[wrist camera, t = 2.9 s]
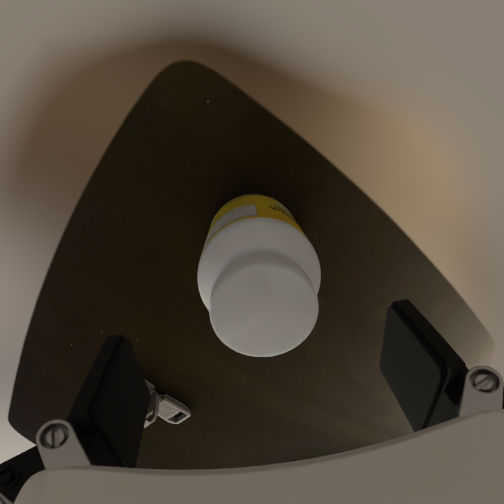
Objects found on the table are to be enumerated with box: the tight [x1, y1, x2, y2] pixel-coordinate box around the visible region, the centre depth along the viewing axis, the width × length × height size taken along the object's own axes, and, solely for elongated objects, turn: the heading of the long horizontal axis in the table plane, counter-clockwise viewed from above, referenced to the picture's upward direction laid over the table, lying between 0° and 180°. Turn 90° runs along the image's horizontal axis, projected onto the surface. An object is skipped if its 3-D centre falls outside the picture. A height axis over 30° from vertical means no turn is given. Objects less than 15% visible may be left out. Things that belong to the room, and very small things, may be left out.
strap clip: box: [144, 379, 191, 428], centre depth 28 cm, size 8×3×4 cm, turn 45°
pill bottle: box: [198, 194, 321, 357], centre depth 19 cm, size 6×6×12 cm
